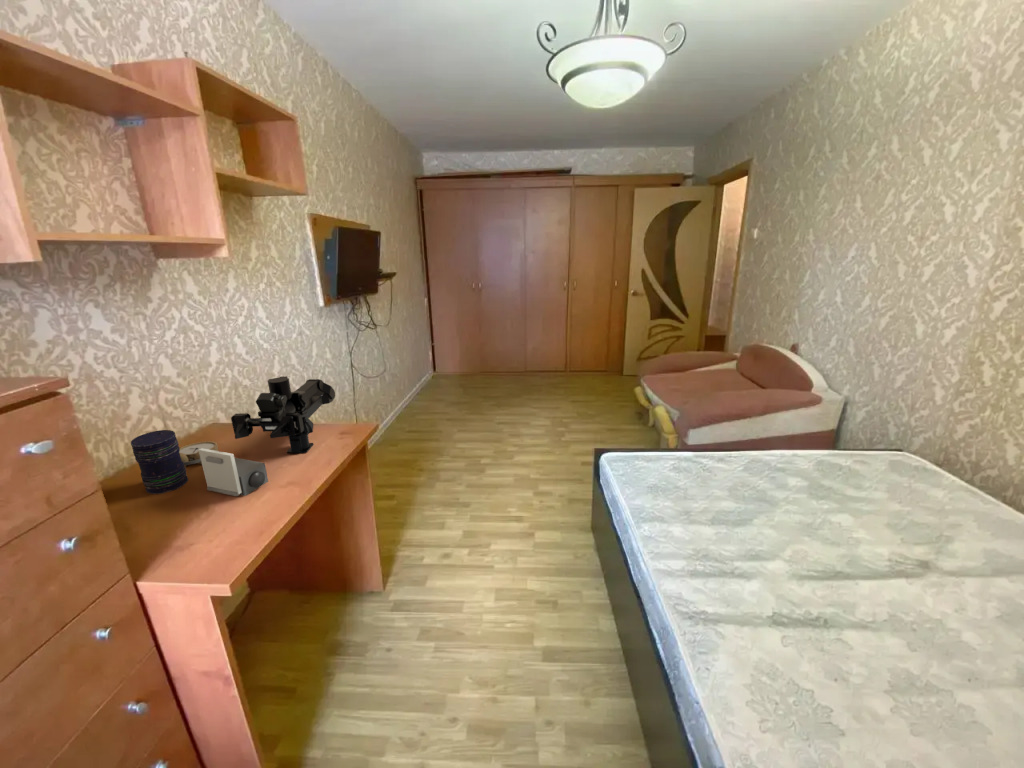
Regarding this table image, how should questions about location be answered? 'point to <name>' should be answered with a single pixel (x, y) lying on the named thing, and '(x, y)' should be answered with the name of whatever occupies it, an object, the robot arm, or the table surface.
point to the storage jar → (159, 461)
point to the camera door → (220, 472)
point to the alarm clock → (195, 452)
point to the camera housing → (250, 475)
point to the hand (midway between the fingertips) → (253, 436)
